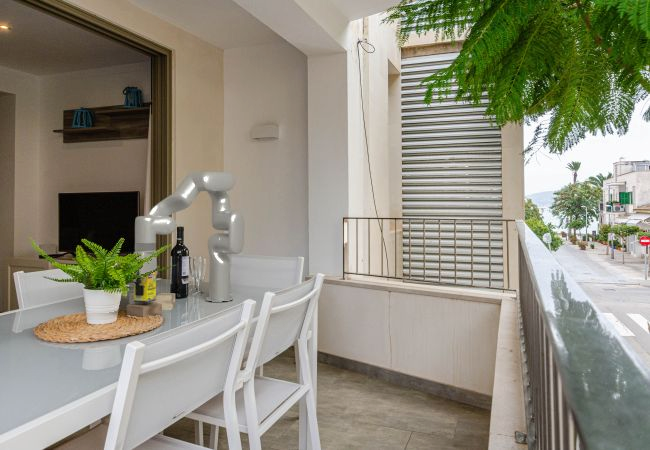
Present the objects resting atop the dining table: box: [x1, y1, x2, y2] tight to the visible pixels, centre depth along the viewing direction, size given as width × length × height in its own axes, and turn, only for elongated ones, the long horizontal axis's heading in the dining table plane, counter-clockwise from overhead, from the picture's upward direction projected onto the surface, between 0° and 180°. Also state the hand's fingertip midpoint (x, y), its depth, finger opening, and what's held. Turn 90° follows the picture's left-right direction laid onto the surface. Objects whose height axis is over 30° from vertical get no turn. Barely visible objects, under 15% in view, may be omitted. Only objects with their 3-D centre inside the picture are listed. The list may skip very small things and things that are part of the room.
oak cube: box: [156, 292, 176, 311], centre depth 187 cm, size 6×6×6 cm
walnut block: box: [126, 302, 163, 318], centre depth 171 cm, size 9×9×5 cm
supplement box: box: [134, 273, 157, 303], centre depth 171 cm, size 6×6×11 cm
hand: (145, 293), depth 171 cm, fingers closed on supplement box, 6 cm apart
